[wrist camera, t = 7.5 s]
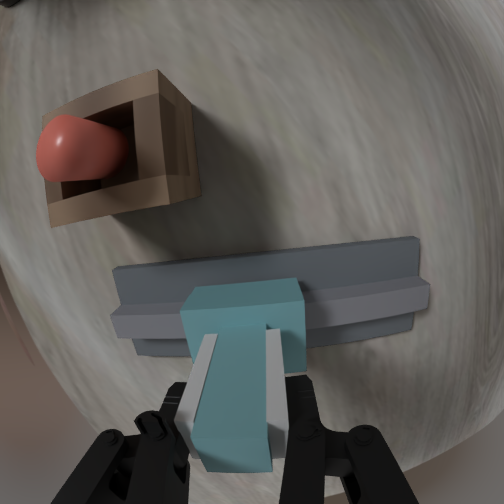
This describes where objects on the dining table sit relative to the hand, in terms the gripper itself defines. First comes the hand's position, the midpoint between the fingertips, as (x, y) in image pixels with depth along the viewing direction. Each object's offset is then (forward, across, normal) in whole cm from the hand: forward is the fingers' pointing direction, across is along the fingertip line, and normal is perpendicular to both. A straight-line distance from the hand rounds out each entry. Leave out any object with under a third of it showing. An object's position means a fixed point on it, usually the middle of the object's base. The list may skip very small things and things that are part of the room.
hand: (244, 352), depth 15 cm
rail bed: (+7, +2, 0) cm, 7 cm away
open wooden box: (+7, -6, +12) cm, 15 cm away
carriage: (+5, 0, 0) cm, 5 cm away
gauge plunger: (+1, -6, +12) cm, 14 cm away
